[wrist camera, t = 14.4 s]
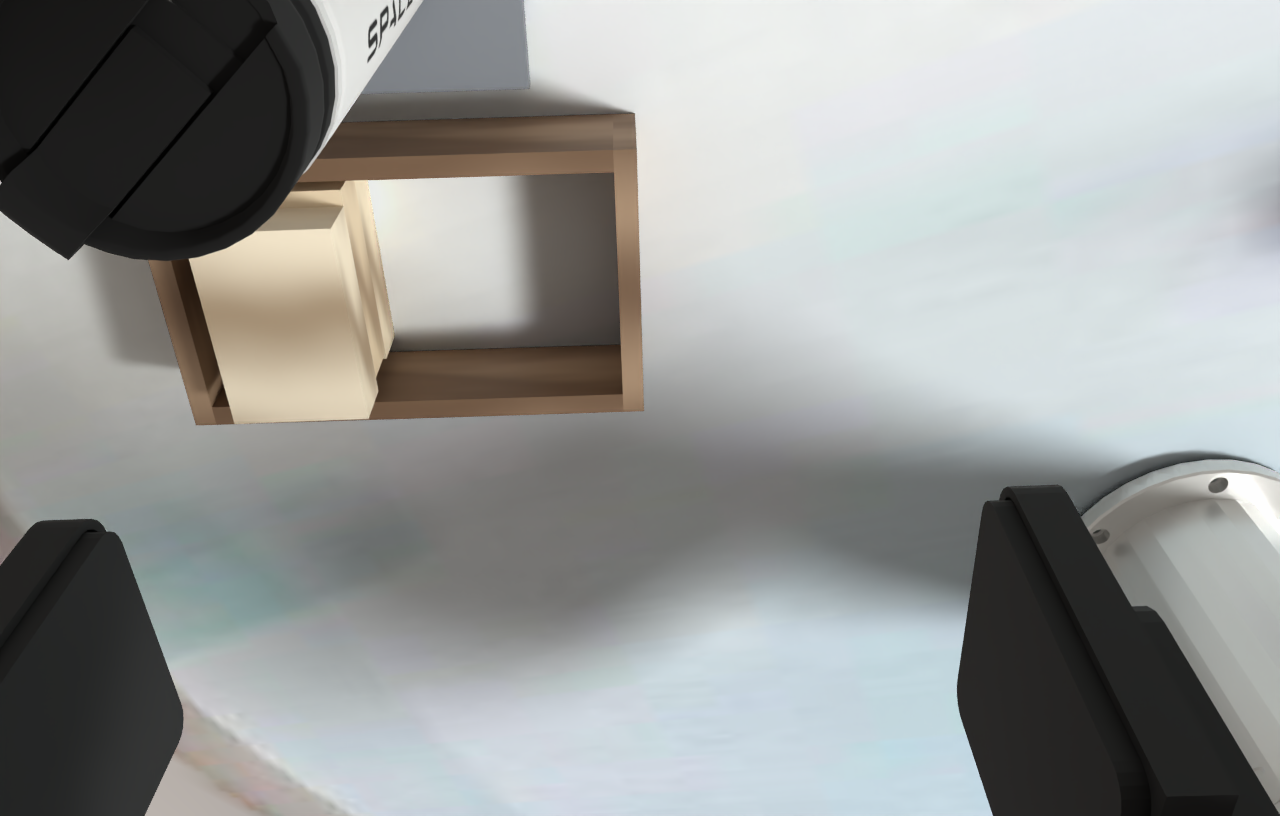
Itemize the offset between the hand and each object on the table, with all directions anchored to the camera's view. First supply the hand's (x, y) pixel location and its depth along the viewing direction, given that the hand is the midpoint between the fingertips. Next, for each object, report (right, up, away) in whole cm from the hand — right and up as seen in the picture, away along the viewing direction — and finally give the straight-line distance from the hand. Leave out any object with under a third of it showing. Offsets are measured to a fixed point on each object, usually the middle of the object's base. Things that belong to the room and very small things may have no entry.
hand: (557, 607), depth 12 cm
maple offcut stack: (-12, +8, +32) cm, 35 cm away
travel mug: (-9, +18, +25) cm, 32 cm away
